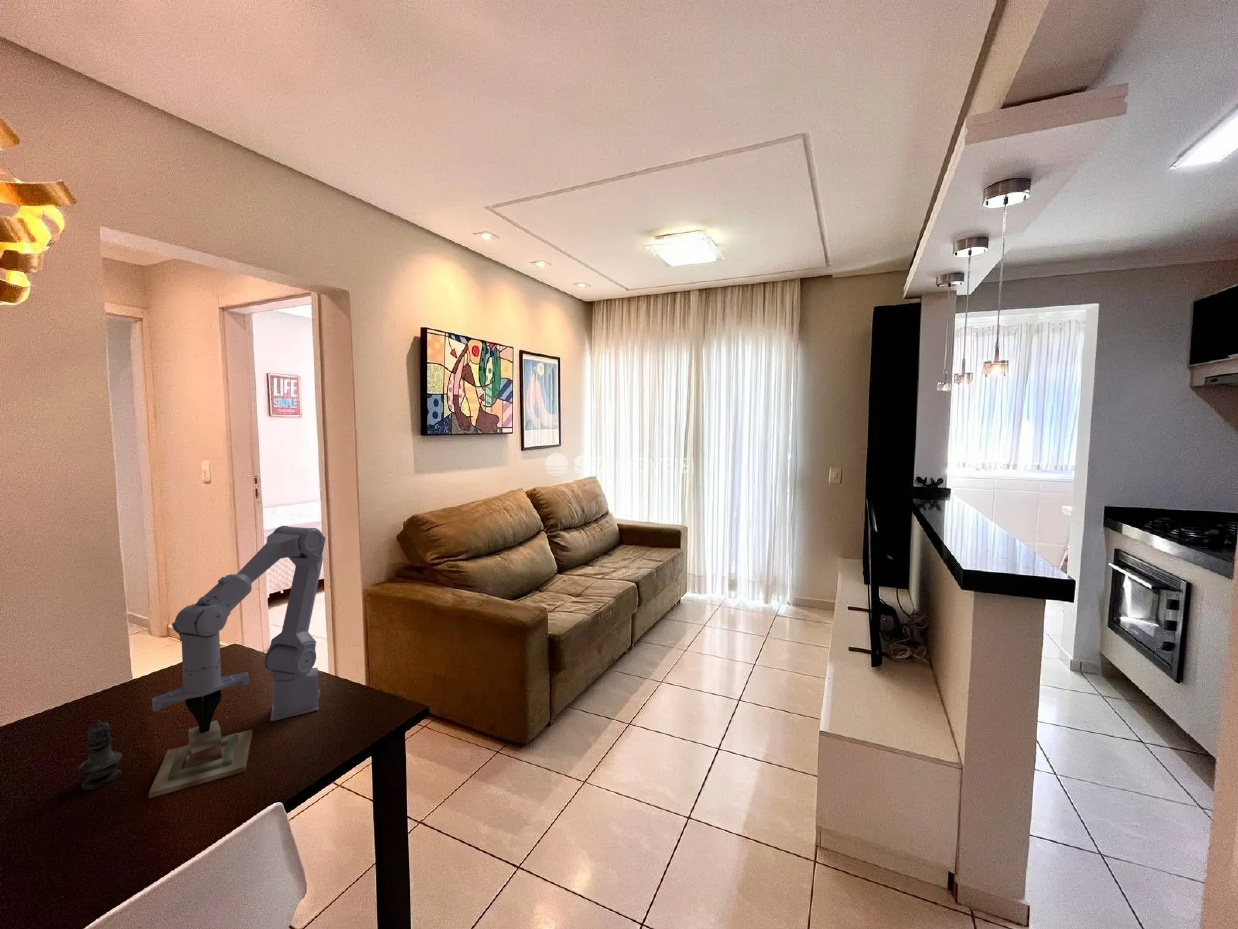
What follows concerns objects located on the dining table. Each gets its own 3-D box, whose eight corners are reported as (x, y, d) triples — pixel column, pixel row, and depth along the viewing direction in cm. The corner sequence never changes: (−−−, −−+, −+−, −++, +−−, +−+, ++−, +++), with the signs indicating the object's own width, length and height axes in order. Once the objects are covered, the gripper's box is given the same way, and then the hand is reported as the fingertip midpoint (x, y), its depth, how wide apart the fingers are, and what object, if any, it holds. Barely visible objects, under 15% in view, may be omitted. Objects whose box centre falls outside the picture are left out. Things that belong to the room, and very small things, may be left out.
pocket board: (252, 733, 108) (252, 725, 108) (245, 771, 96) (244, 762, 96) (168, 754, 101) (167, 746, 101) (148, 798, 89) (148, 789, 89)
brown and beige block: (218, 747, 102) (216, 720, 101) (221, 758, 99) (220, 729, 98) (189, 758, 98) (188, 729, 98) (192, 769, 95) (191, 739, 95)
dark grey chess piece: (94, 793, 90) (90, 730, 89) (69, 788, 91) (66, 726, 90) (131, 771, 96) (128, 712, 95) (108, 767, 97) (105, 708, 96)
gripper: (242, 647, 105) (244, 708, 106) (149, 670, 95) (152, 737, 96) (250, 657, 100) (251, 721, 101) (152, 683, 90) (155, 754, 91)
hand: (204, 730), depth 98 cm, fingers closed, pressing on brown and beige block
